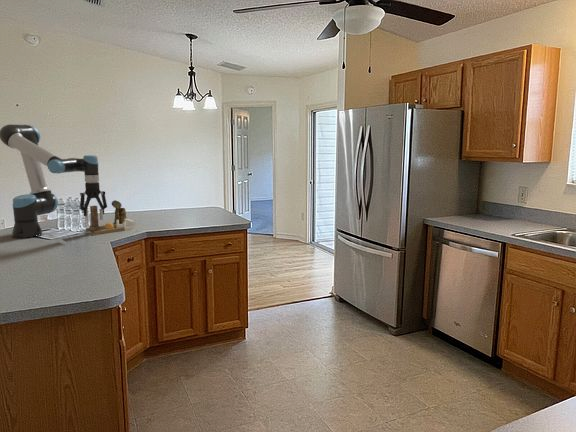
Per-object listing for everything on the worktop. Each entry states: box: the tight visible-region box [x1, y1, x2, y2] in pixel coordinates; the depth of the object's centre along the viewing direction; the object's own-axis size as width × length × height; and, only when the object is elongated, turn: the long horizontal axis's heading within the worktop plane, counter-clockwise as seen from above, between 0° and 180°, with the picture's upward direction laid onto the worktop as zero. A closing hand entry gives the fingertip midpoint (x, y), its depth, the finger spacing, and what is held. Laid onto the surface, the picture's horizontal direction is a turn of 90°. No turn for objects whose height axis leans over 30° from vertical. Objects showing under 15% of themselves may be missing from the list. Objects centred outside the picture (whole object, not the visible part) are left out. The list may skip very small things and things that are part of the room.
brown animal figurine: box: [111, 200, 128, 225], centre depth 287 cm, size 9×14×18 cm, turn 2°
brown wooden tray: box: [85, 218, 138, 237], centre depth 268 cm, size 25×17×6 cm
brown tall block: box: [88, 205, 101, 233], centre depth 260 cm, size 4×7×16 cm, turn 44°
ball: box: [104, 222, 115, 230], centre depth 267 cm, size 5×5×5 cm
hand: (94, 220), depth 260 cm, fingers open, 8 cm apart
